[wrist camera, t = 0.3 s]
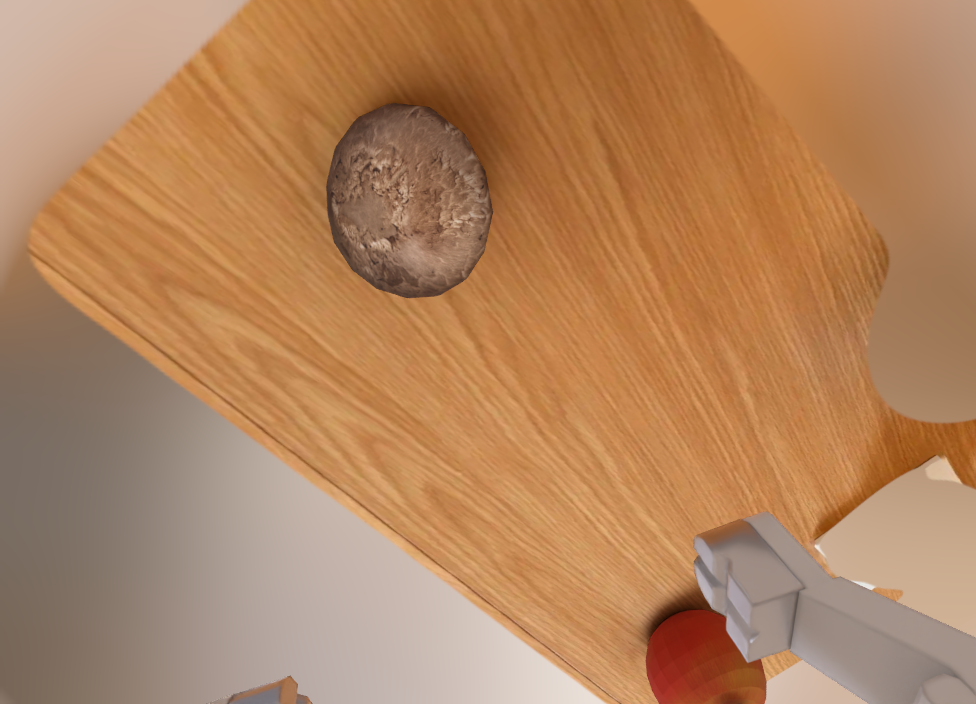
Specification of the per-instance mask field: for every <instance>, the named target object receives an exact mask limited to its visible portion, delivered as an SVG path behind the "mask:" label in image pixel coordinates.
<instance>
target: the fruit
mask: <svg viewBox="0 0 976 704" xmlns="http://www.w3.org/2000/svg"><path fill="white" fill-rule="evenodd" d="M646 669H647V677H648V680H649V682H650V685H651V688H652V691H653V693H654V695H655V697H656V699H657V701H658V702H659V704H764V703H765V700H766V678H765V674H764V670H763V666H762V662H761V659H758V660H755V661H752V662H749V663H748V662H747V661H746V659H745V658H744V656H743V655H742V653H741V652H740V650H739V649H738V647H737V646H736V644H735V643H734V641H733V640H732V638H731V637H730V635H729V634H728V632H727V631H726V618H725V617H723V616H721V615H719V614H716V613H713V612H710V611H707V610H703V609H700V610H687V611H683V612H679V613H676V614H674V615H672V616H670V617H669V618H667V619H666V620H664V621H663V622H662V623H661V624H660V625H659V626H658V628H657V629H656V630H655V631H654V633H653V634H652V636H651V638H650V639H649V644H648V649H647V655H646Z"/></svg>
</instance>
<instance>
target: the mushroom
mask: <svg viewBox="0 0 976 704" xmlns="http://www.w3.org/2000/svg"><path fill="white" fill-rule="evenodd" d="M327 209H328V217H329V222H330V226H331V230H332V235H333V239H334V243H335V244H336V246H337V247H338V249H339V250H340V252H341V253H342V255H343V256H344V258H345V260H346V261H347V263H348V264H349V266H350V267H351V269H352V270H353V271H354V272H356V273H357V274H358V275H360V276H361V277H362V278H364V279H365V280H366V281H367V282H369V283H370V284H371V285H373V286H374V287H375V288H377V289H380V290H383V291H386V292H389V293H392V294H396V295H399V296H402V297H406V298H416V297H431V296H438V295H441V294H442V293H444V292H446V291H447V290H449V289H451V288H453V287H454V286H456V285H458V284H459V283H461V282H463V281H464V280H465V279H467V277H468V276H469V274H470V273H471V271H472V270H473V268H474V267H475V265H476V264H477V262H478V260H479V259H480V257H481V256H482V254H483V253H484V251H485V246H486V242H487V237H488V233H489V228H490V223H491V219H492V214H493V209H492V204H491V199H490V194H489V188H488V183H487V178H486V173H485V170H484V168H483V166H482V165H481V163H480V161H479V159H478V157H477V156H476V154H475V152H474V150H473V148H472V147H471V145H470V143H469V141H468V139H467V138H466V136H465V134H464V133H463V132H461V131H460V130H459V129H457V128H456V127H455V126H454V125H452V124H451V123H450V122H448V121H447V120H446V119H445V118H443V117H442V116H441V115H439V114H438V113H437V112H435V111H434V110H433V109H431V108H429V107H423V106H414V105H406V104H397V103H392V104H386V105H384V106H382V107H380V108H378V109H376V110H373V111H371V112H369V113H367V114H365V115H363V116H360V117H359V118H358V119H357V120H356V121H355V122H354V123H353V124H352V125H351V127H350V128H349V130H348V131H347V132H346V134H345V135H344V137H343V138H342V139H341V141H340V142H339V143H338V145H337V146H336V149H335V151H334V155H333V159H332V163H331V167H330V172H329V176H328V180H327Z"/></svg>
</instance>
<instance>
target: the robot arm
mask: <svg viewBox="0 0 976 704" xmlns="http://www.w3.org/2000/svg"><path fill="white" fill-rule="evenodd" d="M694 549H695V550H696V552H697V553H698V556H697V558H696V559H695V561H694V572H695V576H696V579H697V582H698V585H699V587H700V589H701V591H702V593H703V595H704V597H705V598H706V600H707V602H708V603H709V605H710V606H711V608H712V609H713V610H715V611H717V612H719V613H721V614H723V615H724V616H726V631H727V632H728V634H729V635H730V637H731V638H732V640H733V641H734V643H735V644H736V646H737V647H738V649H739V650H740V652H741V653H742V655H743V656H744V658H745V659H746V661H747V662H748V663H749V662H752V661H755V660H758V659H761V658H764V657H767V656H770V655H773V654H776V653H779V652H782V651H785V650H788V649H790V652H792V653H793V654H795V655H796V656H798V657H799V658H801V659H802V660H804V661H805V662H807V663H808V664H810V665H811V666H813V667H814V668H816V669H817V670H819V671H820V672H822V673H823V674H825V675H826V676H828V677H829V678H831V679H832V680H834V681H835V682H837V683H838V684H840V685H841V686H843V687H844V688H846V689H847V690H849V691H850V692H852V693H853V694H855V695H857V696H858V697H859V698H861V699H862V700H864V701H865V702H867V703H869V704H976V638H975V637H973V636H971V635H969V634H966V633H964V632H962V631H960V630H958V629H955V628H953V627H951V626H949V625H947V624H944V623H942V622H940V621H938V620H936V619H933V618H931V617H929V616H927V615H924V614H922V613H920V612H918V611H916V610H913V609H911V608H909V607H907V606H904V605H902V604H900V603H898V602H896V601H893V600H891V599H889V598H887V597H885V596H882V595H880V594H878V593H876V592H873V591H871V590H869V589H867V588H865V587H862V586H860V585H858V584H856V583H854V582H851V581H849V580H847V579H845V578H842V577H837V578H834V579H833V578H832V577H831V576H830V575H829V574H828V573H827V572H826V571H825V570H824V569H823V568H822V567H821V566H820V564H819V563H818V562H817V561H816V560H815V559H814V558H813V557H812V556H811V555H810V554H809V553H808V552H807V551H806V550H805V549H804V547H803V546H802V545H801V544H800V543H799V542H798V541H797V540H796V539H795V538H794V537H793V536H792V535H791V534H790V533H789V532H788V530H787V529H786V528H785V527H784V526H783V525H782V524H781V523H780V522H779V521H778V520H777V519H776V518H775V517H774V516H773V515H772V514H770V513H768V512H760V513H758V514H755V515H752V516H749V517H747V518H744V519H741V520H740V519H739V520H736V521H733V522H731V523H728V524H725V525H723V526H720V527H717V528H714V529H712V530H709V531H706V532H703V533H701V534H698V535H696V536H695V538H694ZM297 688H298V684H297V683H296V682H295V681H294V679H293V678H292V677H291V676H287V677H285V678H282V679H279V680H276V681H273V682H270V683H267V684H264V685H261V686H258V687H255V688H252V689H249V690H246V691H243V692H240V693H237V694H233V695H230V696H227V697H224V698H221V699H218V700H216V701H213V702H210V703H208V704H312V702H311V701H310V700H309V698H308V697H307V696H303V695H300V694H297Z"/></svg>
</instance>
